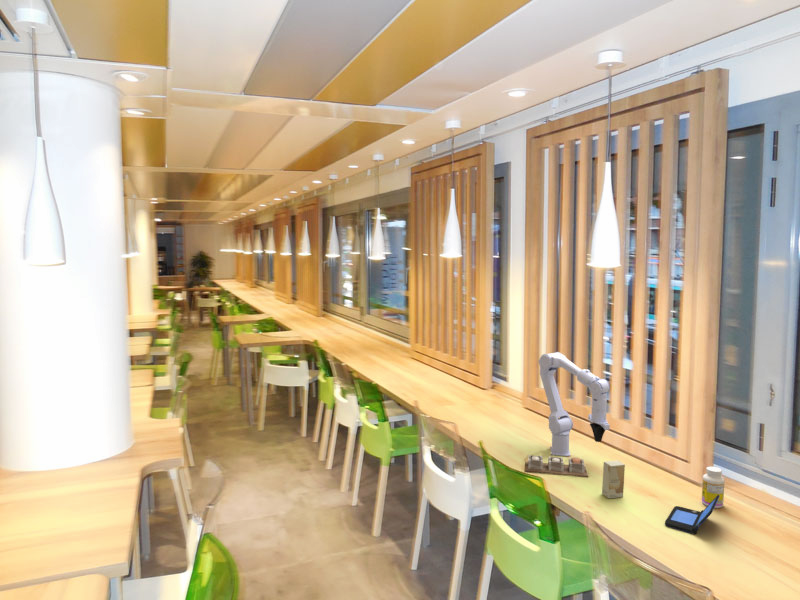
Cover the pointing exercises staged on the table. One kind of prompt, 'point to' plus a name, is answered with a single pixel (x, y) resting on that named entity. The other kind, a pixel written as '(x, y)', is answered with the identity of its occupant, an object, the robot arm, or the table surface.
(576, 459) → the terracotta plug
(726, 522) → the table surface
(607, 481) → the skincare box
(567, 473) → the board
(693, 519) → the handheld game console
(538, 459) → the plug
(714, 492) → the supplement bottle
